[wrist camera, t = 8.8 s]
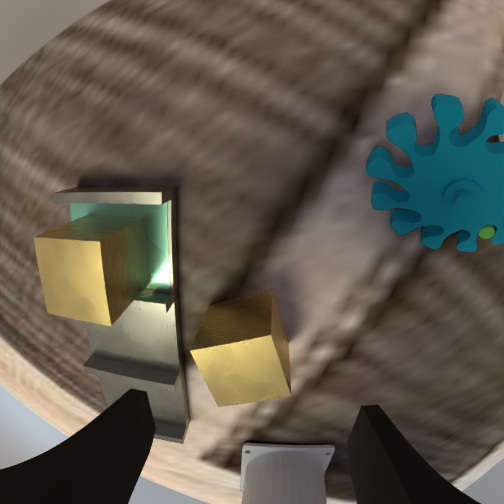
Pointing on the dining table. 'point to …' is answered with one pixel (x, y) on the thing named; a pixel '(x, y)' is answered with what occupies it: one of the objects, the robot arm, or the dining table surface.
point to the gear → (445, 176)
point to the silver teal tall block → (141, 309)
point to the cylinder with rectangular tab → (503, 101)
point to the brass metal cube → (243, 350)
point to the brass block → (93, 266)
